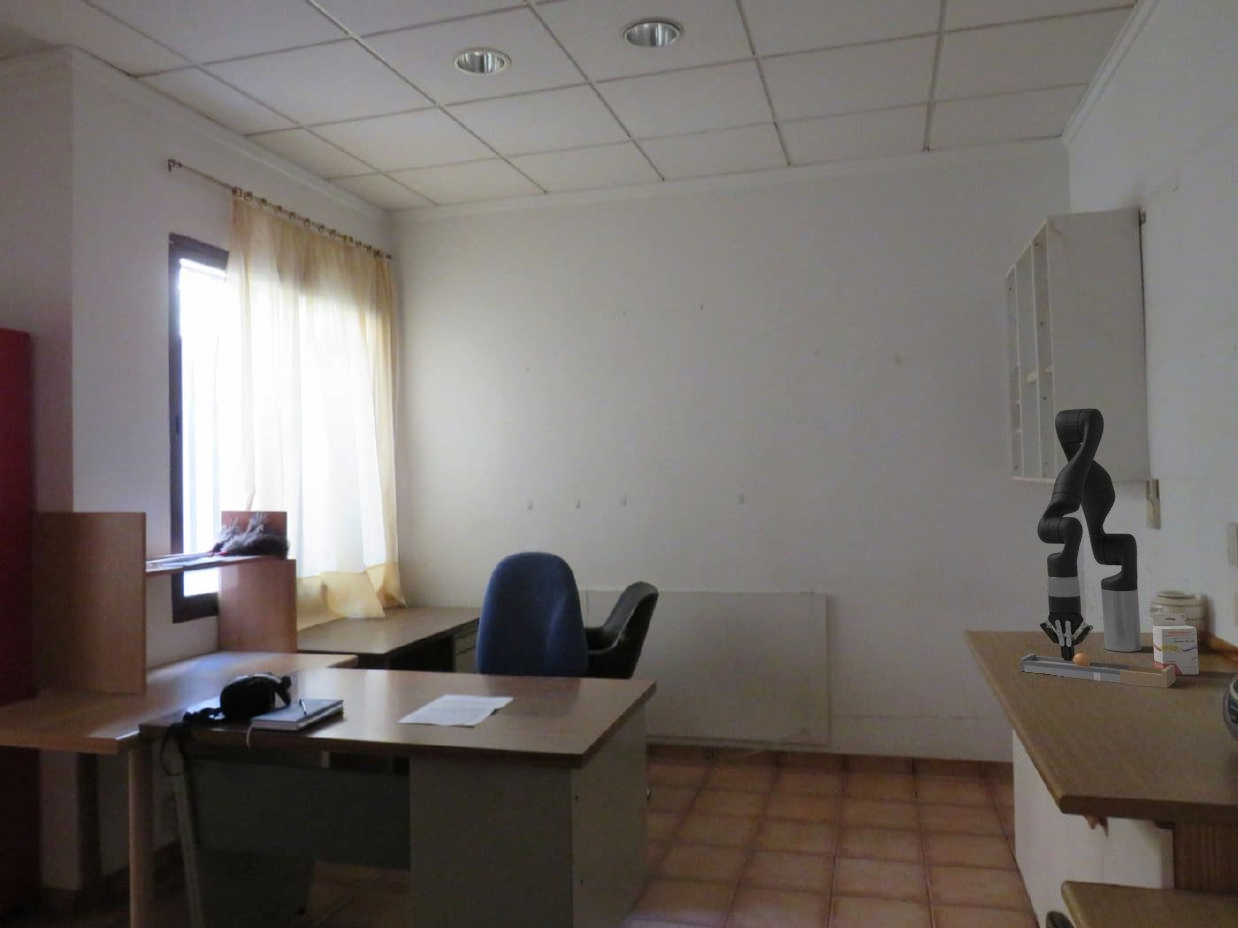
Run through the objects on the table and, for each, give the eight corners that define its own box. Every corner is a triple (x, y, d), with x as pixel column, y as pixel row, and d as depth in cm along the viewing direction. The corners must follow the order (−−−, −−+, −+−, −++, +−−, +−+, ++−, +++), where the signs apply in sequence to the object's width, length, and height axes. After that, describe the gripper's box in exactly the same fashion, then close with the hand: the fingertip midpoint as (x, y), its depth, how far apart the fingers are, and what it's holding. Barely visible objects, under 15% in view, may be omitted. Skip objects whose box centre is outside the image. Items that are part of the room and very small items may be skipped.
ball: (1075, 663, 233) (1077, 648, 233) (1092, 667, 231) (1093, 652, 230) (1070, 666, 231) (1071, 651, 230) (1086, 670, 228) (1088, 655, 227)
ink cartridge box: (1164, 675, 226) (1160, 616, 226) (1154, 671, 231) (1150, 613, 231) (1200, 674, 225) (1196, 615, 225) (1189, 669, 230) (1185, 612, 230)
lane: (1032, 666, 243) (1031, 651, 243) (1175, 681, 219) (1174, 664, 219) (1020, 671, 237) (1019, 656, 238) (1166, 687, 214) (1165, 671, 214)
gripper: (1096, 593, 231) (1100, 660, 231) (1043, 590, 241) (1047, 655, 240) (1085, 596, 226) (1090, 665, 225) (1032, 594, 235) (1036, 660, 235)
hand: (1068, 660), depth 233 cm, fingers closed
